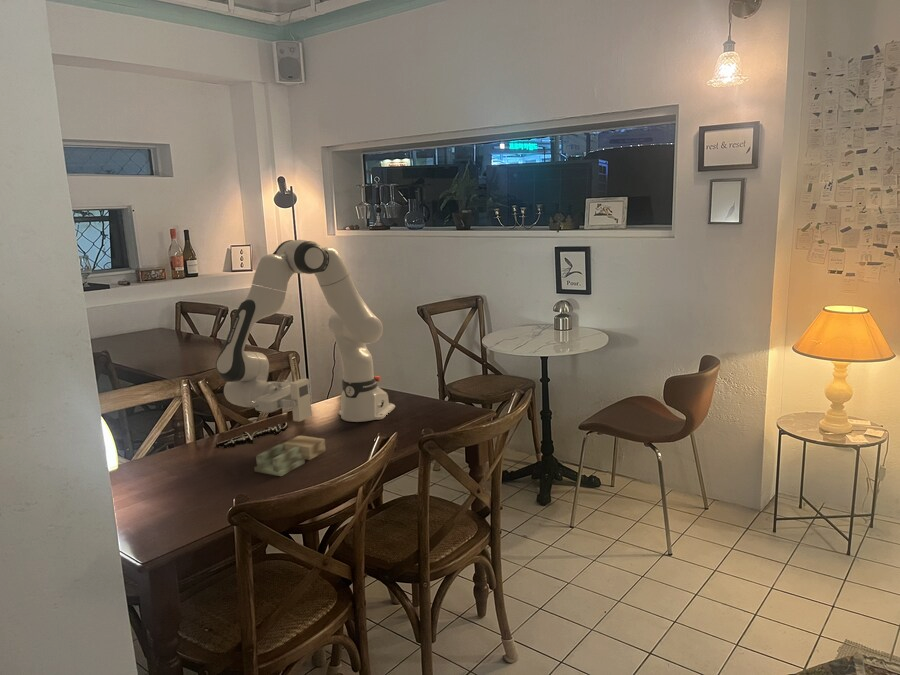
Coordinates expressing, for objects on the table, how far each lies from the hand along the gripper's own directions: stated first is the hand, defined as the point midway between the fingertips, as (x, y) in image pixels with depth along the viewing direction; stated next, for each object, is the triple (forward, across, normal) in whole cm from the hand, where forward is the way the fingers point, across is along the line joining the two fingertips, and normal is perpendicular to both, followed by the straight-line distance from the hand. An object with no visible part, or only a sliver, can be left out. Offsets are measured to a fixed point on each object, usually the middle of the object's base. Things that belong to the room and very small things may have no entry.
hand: (303, 399), depth 210 cm
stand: (-1, 0, +18) cm, 18 cm away
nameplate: (-27, +7, +18) cm, 33 cm away
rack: (-1, -12, +18) cm, 21 cm away
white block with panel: (-1, 0, +6) cm, 6 cm away
